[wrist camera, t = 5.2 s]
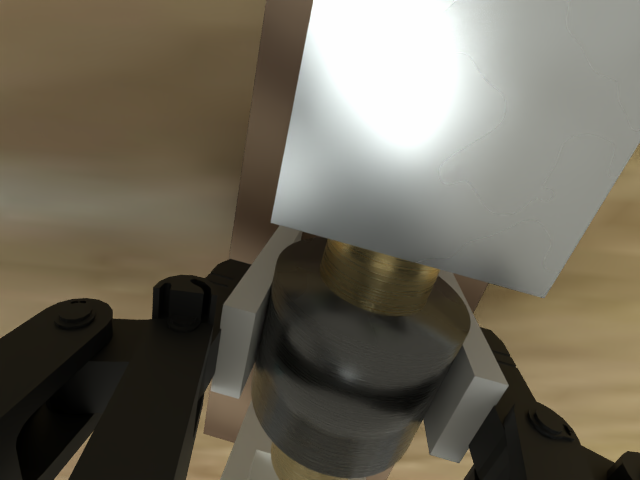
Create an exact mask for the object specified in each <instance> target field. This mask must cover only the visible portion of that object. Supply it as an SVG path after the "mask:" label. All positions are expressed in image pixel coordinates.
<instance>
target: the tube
mask: <svg viewBox="0 0 640 480" xmlns="http://www.w3.org/2000/svg"><path fill="white" fill-rule="evenodd" d="M439 272H440V269H437V268H433V267H429V266H426V265H422V264H418V263H415V262H411V261H408V260H404V259H400V258H397V257H393V256H389V255H386V254H382V253H379V252H375V251H371V250H368V249H364V248H361V247H357V246H353V245H350V244H346V243H342V242H339V241H335V240H332V239H328V238H324V237H316V238H309V239H304V240H300V241H298V242H295V243H293V244H291V245H289V246H287V247H286V248H285V249H284V250H283V251H282V252H281V253H280V255H279V257H278V259H277V262H276V267H275V272H274V276H273V281H272V286H271V291H270V295H269V300H268V305H267V310H266V314H265V319H264V324H263V328H262V333H261V338H260V343H259V347H258V352H257V357H256V362H255V366H254V371H253V376H252V382H251V398H252V404H253V408H254V411H255V414H256V417H257V419H258V421H259V423H260V425H261V427H262V428H263V430H264V431H265V433H266V434H267V436H268V437H269V438H270V439H271V440H272V445H271V461H272V465H273V468H274V470H275V473H276V475H277V476H278V478H279V479H280V480H348V478H350V479H351V478H364V477H368V476H373V475H376V474H378V473H381V472H383V471H385V470H387V469H388V468H390V467H391V466H393V465H394V464H395V463H396V462H397V461H398V460H400V459H401V457H402V456H403V455H404V453H405V452H406V450H407V449H408V447H409V445H410V443H411V441H412V439H413V437H414V435H415V433H416V432H417V430H418V428H419V426H420V424H421V422H422V420H423V418H424V416H425V414H426V413H427V411H428V409H429V407H430V405H431V403H432V401H433V399H434V397H435V396H436V394H437V392H438V390H439V388H440V386H441V384H442V382H443V380H444V379H445V377H446V375H447V373H448V371H449V369H450V367H451V365H452V363H453V362H454V360H455V358H456V356H457V354H458V352H459V350H460V348H461V346H462V344H463V343H464V341H465V339H466V337H467V335H468V333H469V330H470V325H471V320H470V314H469V312H468V309H467V307H466V305H465V303H464V302H463V300H462V299H461V297H460V296H459V295H458V294H457V292H456V291H455V290H454V289H453V288H452V287H451V286H450V285H449V284H448V283H446V282H445V281H444V280H443V279H442V278H440V277H439V276H438V274H439Z"/></svg>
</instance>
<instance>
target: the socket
mask: <svg viewBox="0 0 640 480" xmlns="http://www.w3.org/2000/svg"><path fill="white" fill-rule="evenodd" d="M271 445H272V440H271V439H270V438H269V437H268V436H267V434H266V433H265V431H264V430H263V428H262V427H261V425H260V423H259V421H258V419H257V417H256V414H255V411H254V408H253V404H252V400H251V402H250V405H249V407H248V410H247V413H246V415H245V418H244V420H243V423H242V425H241V428H240V430H239V433H238V436H237V438H236V441H235V443H234V446H233V448H232V451H231V453H230V456H229V459H228V461H227V464H226V466H225V469H224V471H223V474H222V476H221V479H220V480H280V479H279V478H278V476H277V475H276V473H275V470H274V468H273V465H272V461H271ZM348 480H366V477H364V478H351V479H350V478H348Z"/></svg>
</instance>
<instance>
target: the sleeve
mask: <svg viewBox="0 0 640 480" xmlns="http://www.w3.org/2000/svg"><path fill="white" fill-rule="evenodd" d="M639 143H640V0H313V5H312V10H311V15H310V21H309V26H308V31H307V36H306V41H305V46H304V52H303V57H302V62H301V67H300V72H299V78H298V83H297V88H296V93H295V98H294V104H293V109H292V114H291V119H290V124H289V129H288V135H287V140H286V145H285V150H284V155H283V161H282V166H281V171H280V176H279V181H278V187H277V192H276V197H275V202H274V207H273V212H272V218H271V223H274V224H277V225H281V226H285V227H288V228H292V229H295V230H299V231H303V232H306V233H310V234H313V235H317V236H321V237H324V238H328V239H332V240H335V241H339V242H342V243H346V244H350V245H353V246H357V247H361V248H364V249H368V250H371V251H375V252H379V253H382V254H386V255H389V256H393V257H397V258H400V259H404V260H408V261H411V262H415V263H418V264H422V265H426V266H429V267H433V268H437V269H440V270H444V271H447V272H451V273H455V274H458V275H462V276H465V277H469V278H473V279H476V280H480V281H484V282H487V283H491V284H494V285H498V286H502V287H505V288H509V289H513V290H516V291H520V292H523V293H527V294H531V295H534V296H538V297H541V298H545V296H546V295H547V293H548V291H549V290H550V288H551V286H552V285H553V283H554V282H555V280H556V278H557V277H558V275H559V273H560V272H561V270H562V268H563V267H564V265H565V264H566V262H567V260H568V259H569V257H570V255H571V254H572V252H573V250H574V249H575V247H576V246H577V244H578V242H579V241H580V239H581V237H582V236H583V234H584V233H585V231H586V229H587V228H588V226H589V224H590V223H591V221H592V219H593V218H594V216H595V215H596V213H597V211H598V210H599V208H600V206H601V205H602V203H603V201H604V200H605V198H606V197H607V195H608V193H609V192H610V190H611V188H612V187H613V185H614V183H615V182H616V180H617V179H618V177H619V175H620V174H621V172H622V170H623V169H624V167H625V165H626V164H627V162H628V161H629V159H630V157H631V156H632V154H633V152H634V151H635V149H636V148H637V146H638V144H639Z"/></svg>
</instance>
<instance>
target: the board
mask: <svg viewBox="0 0 640 480" xmlns="http://www.w3.org/2000/svg"><path fill="white" fill-rule="evenodd" d="M312 5H313V0H266V6H265V13H264V20H263V27H262V33H261V40H260V47H259V54H258V61H257V68H256V75H255V82H254V89H253V96H252V102H251V109H250V116H249V123H248V130H247V137H246V144H245V151H244V158H243V164H242V171H241V178H240V185H239V192H238V199H237V206H236V213H235V220H234V227H233V233H232V240H231V247H230V254H229V259H233V260H237V261H241V262H244V263H248V264H251V265H252V264H253V262H254V261H255V259H256V258H257V257H258V255H259V254H260V252H261V251H262V250H263V248H264V247H265V245H266V244H267V243H268V241H269V240H270V238H271V237H272V236H273V234H274V233H275V231H276V230H277V229H278V227H279V226H280V225H277V224H274V223H271V218H272V212H273V207H274V202H275V197H276V192H277V187H278V181H279V176H280V171H281V166H282V161H283V155H284V150H285V145H286V140H287V135H288V129H289V124H290V119H291V114H292V109H293V104H294V98H295V93H296V88H297V83H298V78H299V72H300V67H301V62H302V57H303V52H304V46H305V41H306V36H307V31H308V26H309V21H310V15H311V10H312ZM316 237H321V236H317V235H313V234H310V233H306V232H302V237H301V240H304V239H309V238H316ZM453 274H454V276H455V278H456V280H457V282H458V284H459V286H460V288H461V290H462V293H463V295H464V297H465V299H466V301H467V303H468V305H469V307H470V309H471V311H472V313H473V312H474V311H475V309H476V307H477V305H478V303H479V301H480V299H481V297H482V295H483V293H484V291H485V289H486V287H487V285H488V284H489V283H487V282H484V281H480V280H476V279H473V278H469V277H465V276H462V275H458V274H455V273H453ZM255 362H256V361H255ZM254 366H255V363H254ZM254 366H253V368H252V370H251V373H250V375H249V377H248V379H247V382H246V384H245V386H244V389H243V391H242V393H241V396H240V398H239V399H237V398H233V397H230V396H226V395H223V394H220V393H216V392H213V391H211V385H212V379H211V385H210V392H209V399H208V406H207V413H206V420H205V427H204V434H206V435H210V436H213V437H217V438H220V439H223V440H227V441H230V442H233V443H235V441H236V438H237V436H238V433H239V430H240V428H241V425H242V423H243V420H244V418H245V415H246V413H247V410H248V407H249V405H250V402H251V400H252V398H251V382H252V376H253V371H254ZM393 466H394V465H393ZM393 466H391V467H390V468H388V469H387V470H385V471H383V472H381V473H378V474H376V475H373V476H368V477H366V480H387V478H388V476H389V474H390V472H391V470H392V468H393Z"/></svg>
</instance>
